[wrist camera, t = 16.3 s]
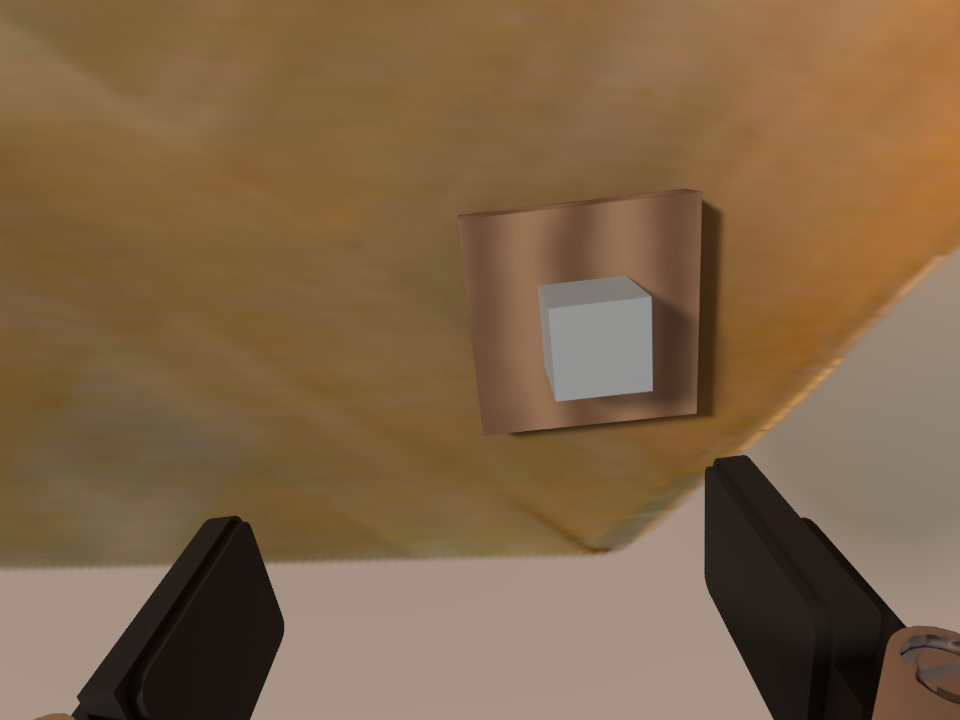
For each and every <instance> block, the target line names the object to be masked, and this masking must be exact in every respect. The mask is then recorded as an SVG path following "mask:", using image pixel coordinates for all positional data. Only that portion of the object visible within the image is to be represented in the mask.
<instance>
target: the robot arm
mask: <svg viewBox="0 0 960 720" xmlns="http://www.w3.org/2000/svg"><path fill="white" fill-rule="evenodd" d="M705 581H706V585H707V588H708V591H709V593H710V595H711V597H712V599H713V601H714V603H715V605H716V607H717V609H718V611H719V613H720V615H721V617H722V619H723V621H724V623H725V625H726V627H727V629H728V631H729V633H730V635H731V637H732V638H733V640H734V642H735V644H736V646H737V648H738V650H739V652H740V654H741V656H742V658H743V660H744V662H745V664H746V666H747V668H748V670H749V672H750V674H751V676H752V678H753V680H754V682H755V684H756V686H757V688H758V690H759V692H760V694H761V696H762V698H763V700H764V701H765V703H766V705H767V707H768V709H769V711H770V713H771V715H772V717H773V719H774V720H960V634H959V633H957V632H954V631H950V630H946V629H942V628H938V627H930V626H912V627H906V626H905V625H904V624H903V623H902V621H901V620H900V619H899V618H898V617H897V616H896V615H895V614H894V612H893V611H892V610H891V609H890V608H889V607H888V606H887V604H886V603H885V602H884V601H883V600H882V599H881V597H880V596H879V595H878V594H877V593H876V592H875V591H874V590H873V588H872V587H871V586H870V585H869V584H868V583H867V582H866V580H865V579H864V578H863V577H862V576H861V575H860V574H859V573H858V571H857V570H856V569H855V568H854V567H853V566H852V565H851V563H850V562H849V561H848V560H847V559H846V558H845V557H844V556H843V554H842V553H841V552H840V551H839V550H838V549H837V548H836V546H835V545H834V544H833V543H832V542H831V541H830V540H829V539H828V537H827V536H826V535H825V534H824V533H823V532H822V531H821V529H820V528H819V527H818V526H817V525H816V524H815V523H814V522H813V521H811V520H810V519H808V518H800V517H799V515H798V514H797V513H796V512H795V511H794V510H793V508H792V507H791V506H790V505H789V504H788V503H787V501H786V500H785V499H784V498H783V497H782V496H781V494H780V493H779V492H778V491H777V490H776V489H775V487H774V486H773V485H772V484H771V483H770V482H769V480H768V479H767V478H766V477H765V476H764V475H763V473H762V472H761V471H760V470H759V469H758V468H757V466H756V465H755V464H754V463H753V462H752V461H751V459H750V458H749V457H748V456H745V455H741V456H733V457H724V458H717V459H715V461H714V463H713V466H711V467H707V468H706V470H705ZM283 634H284V621H283V617H282V614H281V611H280V608H279V605H278V602H277V600H276V597H275V594H274V591H273V588H272V585H271V583H270V580H269V577H268V574H267V571H266V568H265V565H264V562H263V560H262V557H261V554H260V551H259V548H258V545H257V543H256V540H255V537H254V534H253V531H252V528H251V526H250V524H249V523H248V522H243V521H242V519H241V518H240V517H238V516H229V517H221V518H213V519H209V520H207V521H206V522H205V523H204V524H203V525H202V527H201V528H200V529H199V531H198V532H197V533H196V535H195V536H194V538H193V539H192V540H191V542H190V543H189V544H188V546H187V547H186V548H185V550H184V551H183V553H182V554H181V555H180V557H179V558H178V559H177V561H176V562H175V563H174V565H173V566H172V568H171V569H170V570H169V572H168V573H167V574H166V576H165V577H164V578H163V580H162V581H161V583H160V584H159V586H158V587H157V588H156V589H155V591H154V592H153V593H152V595H151V596H150V598H149V599H148V600H147V602H146V603H145V604H144V606H143V607H142V608H141V610H140V611H139V613H138V614H137V615H136V617H135V618H134V619H133V621H132V622H131V623H130V625H129V626H128V628H127V629H126V630H125V632H124V633H123V634H122V636H121V637H120V639H119V640H118V641H117V643H116V644H115V645H114V647H113V648H112V649H111V651H110V652H109V654H108V655H107V656H106V658H105V659H104V660H103V662H102V663H101V664H100V666H99V667H98V669H97V670H96V671H95V673H94V674H93V675H92V677H91V678H90V679H89V681H88V682H87V683H86V685H85V686H84V688H83V689H82V690H81V692H80V693H79V694H78V696H77V698H78V700H79V701H80V704H79V705H78V707H77V708H76V710H75V711H74V712H73V714H72V715H71V716H70V715H67V714H65V713H55V714H54V713H53V714H49V715H46V716H42V717H39V718H36V719H34V720H250V718H251V716H252V713H253V711H254V708H255V705H256V703H257V701H258V698H259V696H260V693H261V691H262V688H263V686H264V683H265V680H266V678H267V676H268V673H269V670H270V668H271V666H272V663H273V661H274V658H275V656H276V653H277V651H278V648H279V646H280V644H281V641H282V638H283Z"/></svg>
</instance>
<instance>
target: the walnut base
mask: <svg viewBox="0 0 960 720" xmlns="http://www.w3.org/2000/svg"><path fill="white" fill-rule="evenodd" d="M701 222H702V192H701V191H695V190H690V189H681V190H672V191H664V192H655V193H646V194H638V195H629V196H621V197H612V198H603V199H595V200H586V201H578V202H569V203H560V204H552V205H543V206H535V207H526V208H517V209H509V210H500V211H492V212H483V213H475V214H466V215H458V219H457V223H458V231H459V240H460V248H461V256H462V264H463V272H464V280H465V288H466V296H467V304H468V312H469V320H470V328H471V336H472V344H473V353H474V361H475V369H476V377H477V385H478V393H479V401H480V409H481V417H482V425H483V433H484V435H492V434H502V433H512V432H522V431H531V430H541V429H551V428H561V427H570V426H580V425H590V424H600V423H609V422H619V421H629V420H639V419H648V418H658V417H668V416H678V415H687V414H697V379H698V340H699V300H700V261H701ZM625 275H626V276H627V277H628V278H629V279H631V280H632V281H633V282H634V283H636V284H637V285H638V286H639V287H640V288H642V289H643V290H644V291H645V292H646V293H648V294H649V295H650V296H651V297H652V369H653V391H647V392H638V393H629V394H620V395H611V396H602V397H593V398H584V399H575V400H566V401H557V402H556V401H555V397H554V394H553V391H552V388H551V385H550V382H549V378H548V375H547V372H546V369H545V363H544V351H543V339H542V328H541V316H540V304H539V293H538V286H541V285H549V284H558V283H566V282H575V281H583V280H591V279H600V278H608V277H617V276H625Z"/></svg>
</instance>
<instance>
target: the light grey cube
mask: <svg viewBox="0 0 960 720" xmlns="http://www.w3.org/2000/svg"><path fill="white" fill-rule="evenodd" d="M538 293H539V304H540V316H541V328H542V339H543V351H544V363H545V369H546V372H547V375H548V378H549V382H550V385H551V388H552V391H553V394H554V397H555V401H556V402H557V401H566V400H575V399H584V398H593V397H602V396H611V395H620V394H629V393H638V392H647V391H653V369H652V297H651V296H650V295H649V294H648V293H646V292H645V291H644V290H643V289H642V288H640V287H639V286H638V285H637V284H636V283H634V282H633V281H632V280H631V279H629V278H628V277H627V276H626V275H625V276H617V277H608V278H600V279H591V280H583V281H575V282H566V283H558V284H549V285H541V286H538Z"/></svg>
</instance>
